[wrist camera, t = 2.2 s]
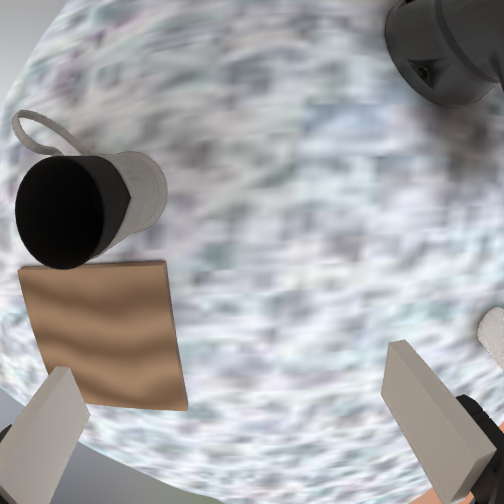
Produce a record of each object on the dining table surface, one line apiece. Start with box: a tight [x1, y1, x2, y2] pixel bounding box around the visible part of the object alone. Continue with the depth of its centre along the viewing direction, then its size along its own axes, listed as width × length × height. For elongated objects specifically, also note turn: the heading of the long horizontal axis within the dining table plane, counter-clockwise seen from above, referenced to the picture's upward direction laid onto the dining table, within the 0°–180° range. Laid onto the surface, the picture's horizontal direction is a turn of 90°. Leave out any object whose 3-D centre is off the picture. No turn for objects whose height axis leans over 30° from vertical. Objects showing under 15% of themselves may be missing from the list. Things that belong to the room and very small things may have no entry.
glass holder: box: [12, 110, 167, 270], centre depth 24 cm, size 9×14×15 cm, turn 34°
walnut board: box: [17, 261, 188, 411], centre depth 36 cm, size 20×20×2 cm
